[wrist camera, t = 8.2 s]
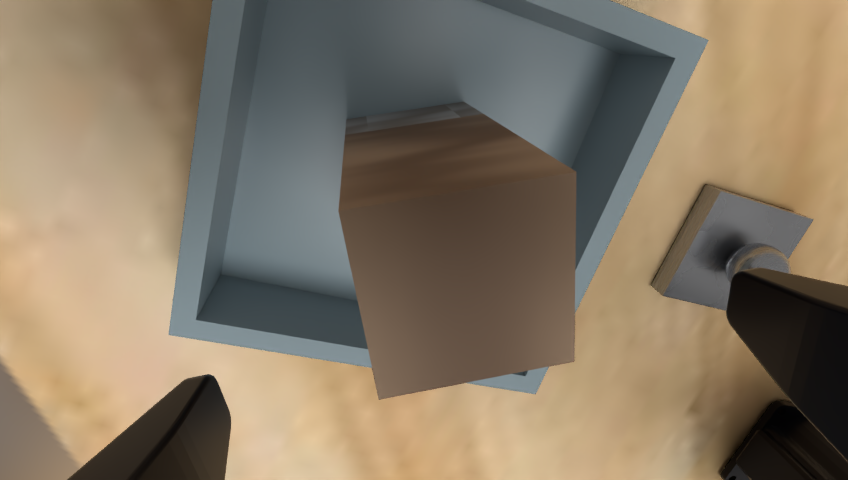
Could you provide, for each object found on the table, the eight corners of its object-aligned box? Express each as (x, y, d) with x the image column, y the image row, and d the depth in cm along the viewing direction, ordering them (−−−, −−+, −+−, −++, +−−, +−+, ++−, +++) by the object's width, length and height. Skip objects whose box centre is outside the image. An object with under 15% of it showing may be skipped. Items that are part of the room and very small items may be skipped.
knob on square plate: (795, 212, 23) (864, 240, 20) (736, 306, 25) (791, 345, 22) (705, 184, 21) (764, 209, 18) (650, 285, 23) (695, 323, 20)
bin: (638, 38, 18) (708, 39, 15) (507, 338, 23) (535, 394, 20) (262, -108, 15) (232, -153, 11) (202, 280, 20) (168, 334, 16)
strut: (463, 101, 18) (576, 172, 9) (473, 211, 20) (574, 361, 11) (346, 119, 18) (337, 211, 9) (367, 228, 19) (378, 399, 10)
